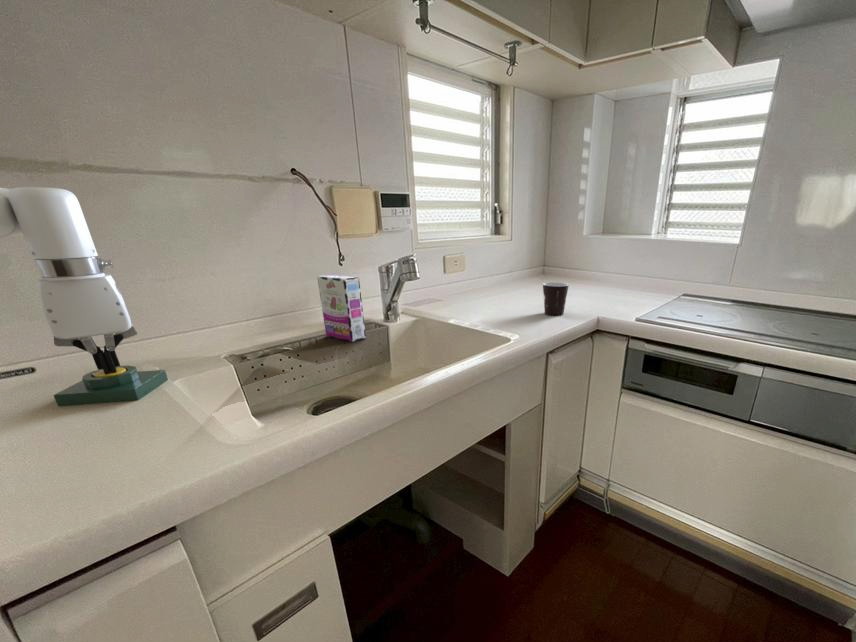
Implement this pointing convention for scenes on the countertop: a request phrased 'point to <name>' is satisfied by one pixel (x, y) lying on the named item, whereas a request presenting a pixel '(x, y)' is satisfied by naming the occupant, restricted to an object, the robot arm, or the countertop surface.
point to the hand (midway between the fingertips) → (110, 371)
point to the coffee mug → (555, 298)
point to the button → (102, 374)
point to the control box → (111, 387)
